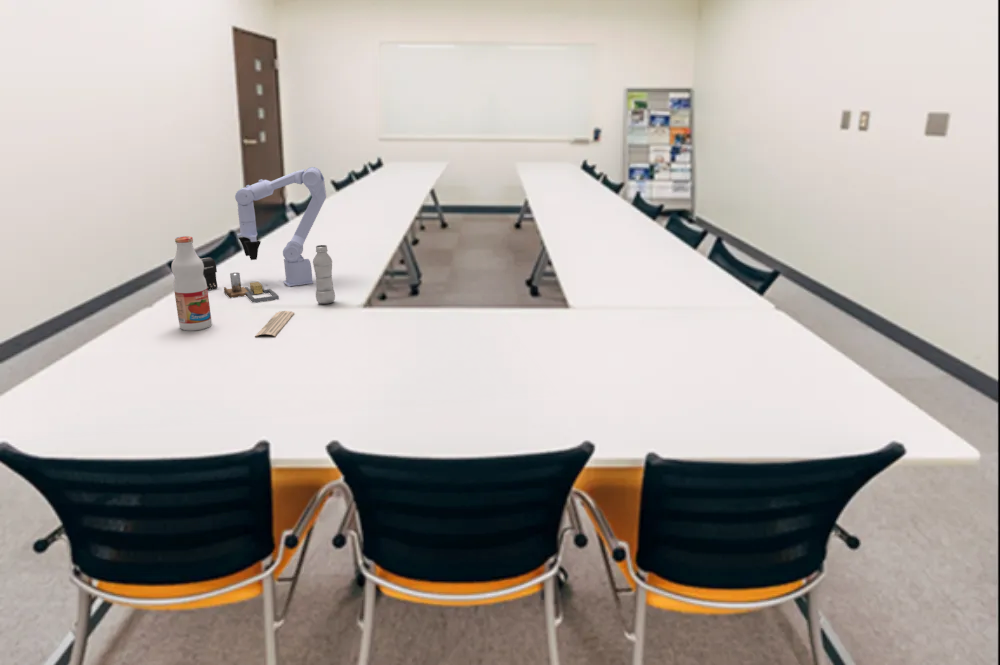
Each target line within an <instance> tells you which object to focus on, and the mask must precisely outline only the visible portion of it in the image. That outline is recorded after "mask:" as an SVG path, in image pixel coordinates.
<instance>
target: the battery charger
mask: <svg viewBox="0 0 1000 665" xmlns="http://www.w3.org/2000/svg"><path fill="white" fill-rule="evenodd" d="M200 259H201V260H202V262H203V264H204V271H203V275H204V277H205V279H206V283H207V290H208V291H210V289H211V290H215V289H218V282H217V273H218V271H217V269H218V268H217V263H216V260H215V259H213V258H212V257H204V258H200Z"/></svg>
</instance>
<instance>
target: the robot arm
mask: <svg viewBox="0 0 1000 665" xmlns="http://www.w3.org/2000/svg"><path fill="white" fill-rule="evenodd" d="M323 175H324V174H323V173H322V171H321V169H319V168H317V167H315V166H311V167H308V168H307V169H306V168H305V169H304V168H302V169H299V170H294V171H293V172H290V173H288V174H286V175H284V176H281V177H279V178H276V179H273V180H268V179H263V178H261V179H258V182H255V183H253V184H251V185H250V184H247V185H246V186H245V187H242V188H240V189H238V190H237V191H236V193H235V195H234V199H235V201H236V203H237V208H238V209H237V212H238V213H237V215H238V222H239V231H240V232H239V233H237V234H236V235H237V237H238V240H239V241H240V243H241V246H242V250H243V252H244V256H246V257H249V258H250V261H255V260H257V259H258V255H259V254H258V253H259V248H260V245H261V242H262V241H261V240H257V238H258V232H257V221H256V212H255V211H256V210H255V207H254V206H255V204H254V201H259V200H262V199H264V198H267V197H270V196H272V195H273V194H274V191H275V190H278V189H281V188H283V187H286V186H289V185H292V184H297V185H298V184H299V185H303V184H304V185H305V187H306V188H307V189H308V191H309V194H310V195H311V199H310V201H309V203H308V205H307V207H306V209H305V212H304V214H303V215H302V218H301V219H300V221H299V224H298V226H297V228H296V230H295V232H294V234H293V236H292V238H291V240H290V241H288V242H287V243H286V245H285V247H284V248H283V250H282V255H283V258H284V259H283V261H284V262H283V263H284V274H285V276H284V277H285V280H282V283H284V284H285V285H286V286H287V287H296V286H302V285H303V286H304V285H311V284H313V283H314V281H313V273H312V272H313V270H312V264H311V260H310V259H309V258H305V257H304V256H303V255H302V253H303V252H304V244H305V241H306V240H307V238H308V235H309V233H310V231H311V229H312V227H313V225H314V223H315V221H316V219H317V217H318V216H319V214H320V213H319V212H320V211H321V209H322V207H323V205H324V203H325V201H326V198H327V190H326V186H325V185H326V184H325V177H324V176H323Z"/></svg>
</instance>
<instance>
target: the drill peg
mask: <svg viewBox="0 0 1000 665" xmlns="http://www.w3.org/2000/svg"><path fill="white" fill-rule="evenodd" d="M229 276H230V285H231V289H232V292H241V291H242V290H241V287H242V282H241V273H240V272H230V274H229Z"/></svg>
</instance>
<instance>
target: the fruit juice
mask: <svg viewBox="0 0 1000 665" xmlns="http://www.w3.org/2000/svg"><path fill="white" fill-rule="evenodd" d="M174 242H175V245H176V250H175V252H176V253H175V257H174V259H173V261H172V262H171V271H172V273H173V276H174V279H173V292H174V297H175V306H176V310H177V318H178V325H179V328H180V329H181V330H183V331H188V332H189V331H200V330H205V329H207V328H210V327H211V326H212V320H213V319H212V315H211V308H210V306H211V305H210V298H209V290H207V283H206V279H205V277H204V275H203V271H204V264H203V262H202V260H201V259H202V258H200V257H199V255H198V254H197V252H196V249H195V248H194V245H193V243H194V239H193V237H192V236H188V235H186V236H185V235H183V236H178V237H175V238H174Z"/></svg>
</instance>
